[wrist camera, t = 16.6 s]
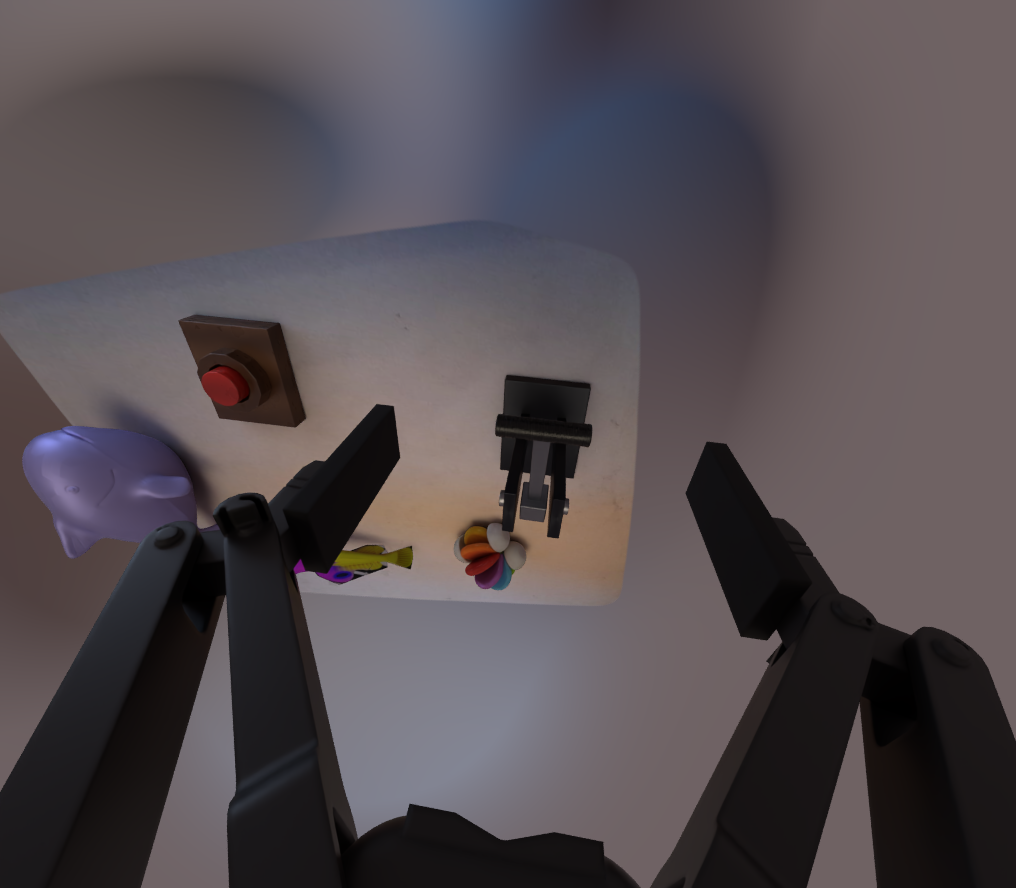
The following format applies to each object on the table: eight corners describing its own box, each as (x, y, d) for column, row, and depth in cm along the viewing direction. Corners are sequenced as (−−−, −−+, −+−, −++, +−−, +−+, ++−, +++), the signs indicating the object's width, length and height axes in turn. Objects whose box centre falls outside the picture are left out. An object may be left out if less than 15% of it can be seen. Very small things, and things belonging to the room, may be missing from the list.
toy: (278, 503, 56) (249, 559, 48) (414, 501, 59) (409, 554, 51) (295, 556, 62) (272, 613, 54) (416, 552, 65) (412, 606, 57)
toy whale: (135, 400, 45) (-40, 502, 35) (268, 527, 61) (173, 620, 51) (92, 391, 51) (-66, 475, 42) (223, 508, 67) (131, 588, 58)
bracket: (506, 374, 42) (480, 451, 29) (590, 383, 41) (599, 466, 29) (501, 463, 48) (478, 556, 36) (573, 472, 48) (575, 570, 35)
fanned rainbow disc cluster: (496, 509, 53) (486, 550, 47) (534, 552, 56) (530, 596, 50) (450, 530, 56) (435, 570, 50) (489, 569, 60) (480, 612, 54)
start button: (208, 363, 42) (195, 370, 40) (242, 367, 41) (231, 373, 40) (221, 396, 44) (209, 403, 42) (254, 400, 43) (243, 408, 42)
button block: (194, 314, 42) (162, 325, 39) (279, 323, 42) (254, 334, 38) (232, 409, 49) (207, 425, 46) (306, 418, 48) (286, 435, 45)
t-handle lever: (499, 403, 25) (493, 433, 24) (592, 414, 24) (592, 445, 23) (502, 492, 36) (498, 516, 35) (566, 500, 35) (565, 525, 34)
